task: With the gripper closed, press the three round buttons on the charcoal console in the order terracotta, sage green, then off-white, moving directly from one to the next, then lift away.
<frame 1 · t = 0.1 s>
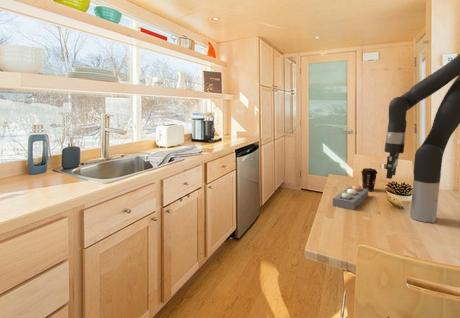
hand: (390, 176, 124), 17 cm above the table, tool pointing down, fingers open, 8 cm apart
terracotta button: (356, 188, 150), point 5 cm above the table, slide at 0.0 cm
offwhite button: (351, 192, 143), point 5 cm above the table, slide at 0.0 cm
console: (351, 200, 144), on the table
coffee cup: (368, 190, 163), on the table
sage button: (346, 196, 136), point 5 cm above the table, slide at 0.0 cm
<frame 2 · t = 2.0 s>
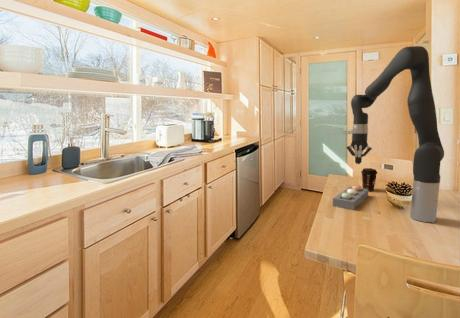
hand: (358, 163, 147), 19 cm above the table, tool pointing down, fingers closed
nothing on the table moved.
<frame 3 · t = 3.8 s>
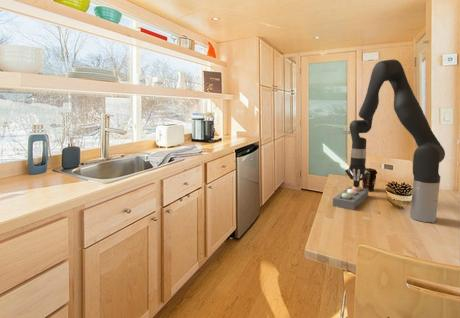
hand: (356, 186, 150), 6 cm above the table, tool pointing down, fingers closed
terracotta button: (356, 189, 150), point 4 cm above the table, slide at 0.4 cm, touching gripper
everything else where it was.
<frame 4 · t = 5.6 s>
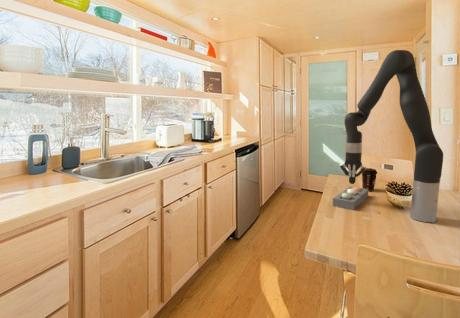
hand: (352, 183, 141), 10 cm above the table, tool pointing down, fingers closed
terracotta button: (356, 190, 150), point 3 cm above the table, slide at 1.2 cm
everything else where it was.
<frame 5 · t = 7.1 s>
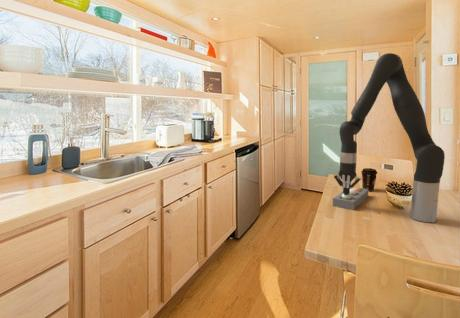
hand: (346, 194, 136), 6 cm above the table, tool pointing down, fingers closed
sage button: (346, 197, 136), point 4 cm above the table, slide at 0.3 cm, touching gripper
everything else where it was.
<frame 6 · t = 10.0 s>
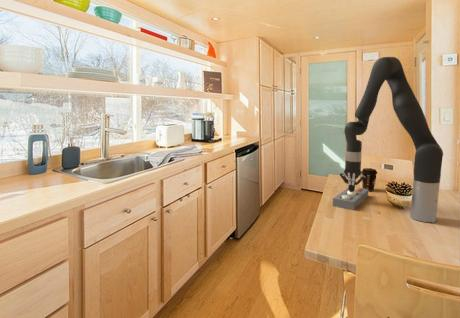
hand: (351, 191, 143), 5 cm above the table, tool pointing down, fingers closed
offwhite button: (351, 193, 143), point 4 cm above the table, slide at 0.9 cm, touching gripper
sage button: (346, 198, 137), point 3 cm above the table, slide at 1.2 cm
everything else where it was.
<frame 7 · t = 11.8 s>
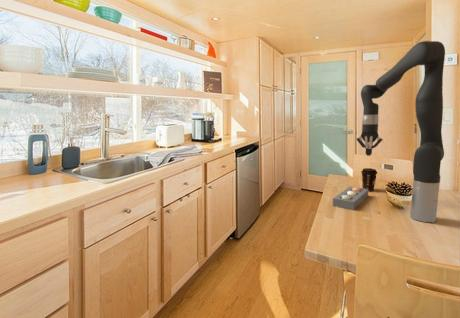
hand: (368, 155, 145), 24 cm above the table, tool pointing down, fingers closed
offwhite button: (351, 194, 143), point 3 cm above the table, slide at 1.2 cm
everything else where it was.
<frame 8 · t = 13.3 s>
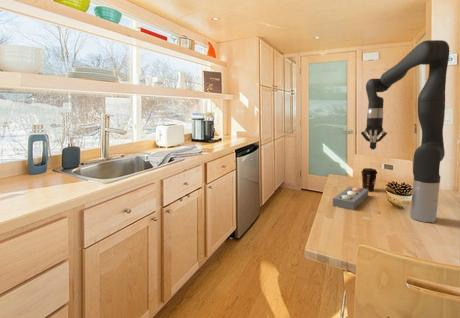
hand: (372, 149, 145), 27 cm above the table, tool pointing down, fingers closed
nothing on the table moved.
at the end: terracotta button slide at 1.2 cm; sage button slide at 1.2 cm; offwhite button slide at 1.2 cm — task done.
